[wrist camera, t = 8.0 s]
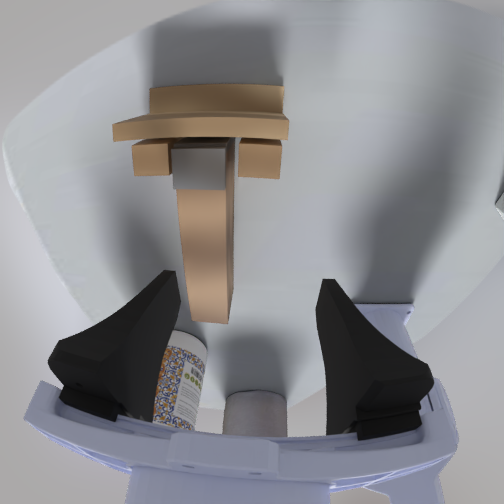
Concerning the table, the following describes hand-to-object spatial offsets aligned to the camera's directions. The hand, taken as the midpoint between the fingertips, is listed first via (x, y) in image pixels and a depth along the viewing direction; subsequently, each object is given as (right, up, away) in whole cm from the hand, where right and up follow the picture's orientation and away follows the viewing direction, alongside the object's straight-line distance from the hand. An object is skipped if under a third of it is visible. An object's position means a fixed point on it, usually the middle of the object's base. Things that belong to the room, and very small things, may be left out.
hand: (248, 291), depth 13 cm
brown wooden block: (-3, +4, +8) cm, 10 cm away
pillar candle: (+1, -22, +25) cm, 33 cm away
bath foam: (-8, -9, +18) cm, 22 cm away
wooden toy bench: (-2, +11, +4) cm, 12 cm away
